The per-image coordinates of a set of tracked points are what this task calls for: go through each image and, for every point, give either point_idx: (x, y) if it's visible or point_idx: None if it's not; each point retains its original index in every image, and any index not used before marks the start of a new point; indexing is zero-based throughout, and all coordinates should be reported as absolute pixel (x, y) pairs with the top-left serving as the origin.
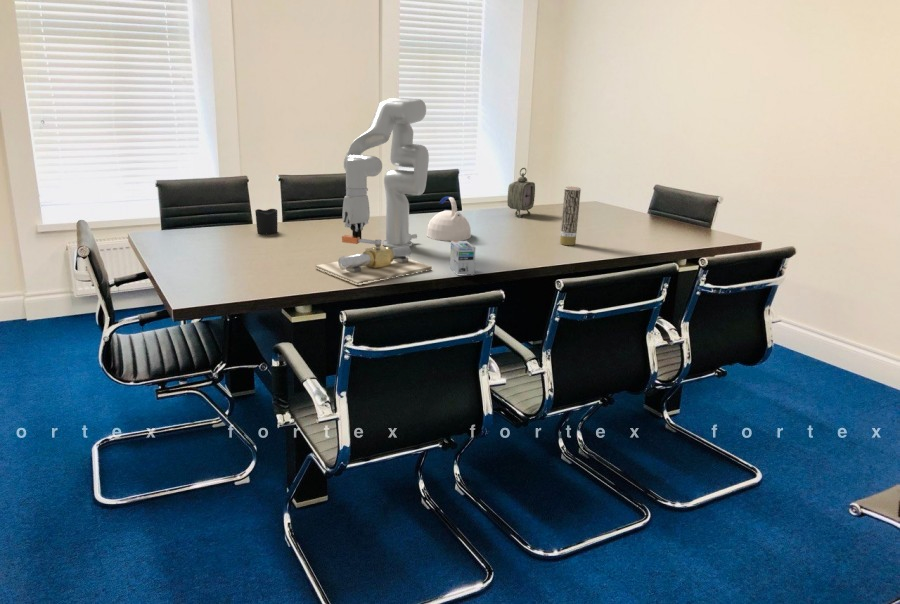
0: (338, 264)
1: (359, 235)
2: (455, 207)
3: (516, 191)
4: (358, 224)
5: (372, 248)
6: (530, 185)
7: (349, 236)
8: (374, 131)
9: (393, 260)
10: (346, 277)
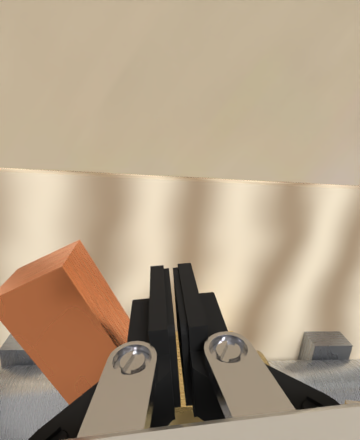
0: (29, 232)
1: (181, 366)
2: None
3: None
4: (265, 410)
5: (175, 423)
6: None
7: (64, 345)
8: None
9: (305, 327)
10: None
